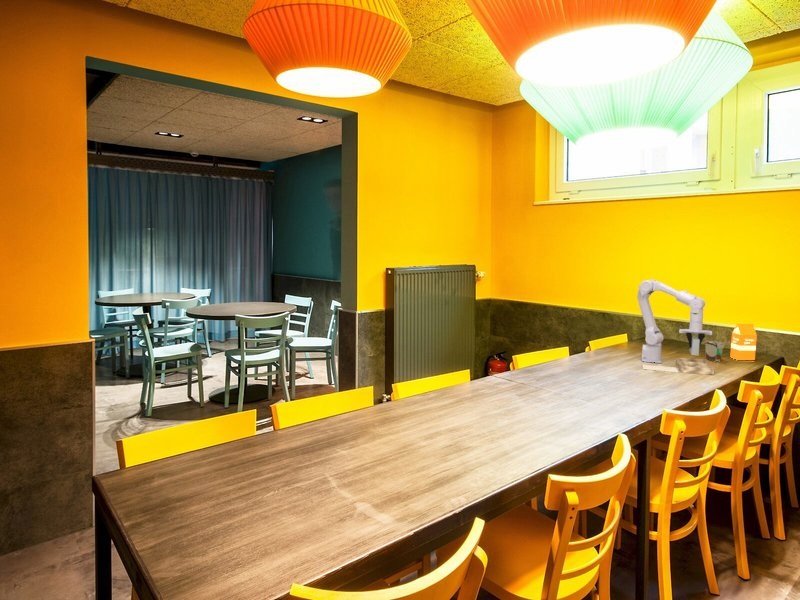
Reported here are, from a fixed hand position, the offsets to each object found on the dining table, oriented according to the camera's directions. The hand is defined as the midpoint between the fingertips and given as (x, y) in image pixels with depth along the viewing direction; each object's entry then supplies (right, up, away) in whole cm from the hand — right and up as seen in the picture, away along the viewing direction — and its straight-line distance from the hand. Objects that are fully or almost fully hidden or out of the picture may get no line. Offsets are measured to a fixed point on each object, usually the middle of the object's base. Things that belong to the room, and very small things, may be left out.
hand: (694, 347), depth 267 cm
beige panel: (-19, -11, -2) cm, 22 cm away
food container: (+22, -9, +18) cm, 30 cm away
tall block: (0, -3, 0) cm, 3 cm away
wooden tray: (-1, -11, -1) cm, 11 cm away
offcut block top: (-4, -9, -8) cm, 13 cm away
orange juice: (+38, -9, +21) cm, 45 cm away
